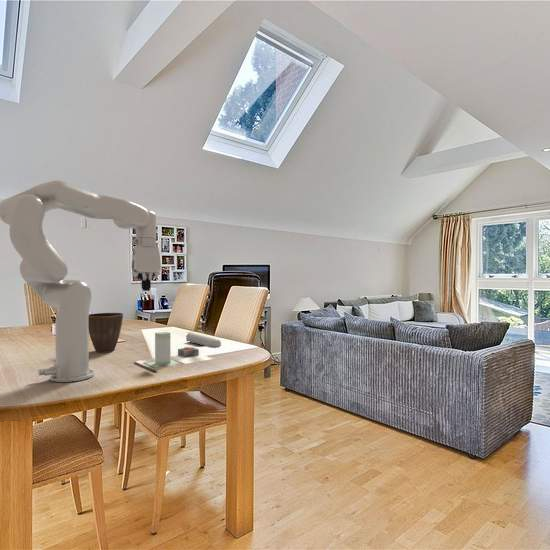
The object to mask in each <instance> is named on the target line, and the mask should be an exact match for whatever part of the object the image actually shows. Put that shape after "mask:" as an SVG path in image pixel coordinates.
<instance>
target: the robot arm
mask: <svg viewBox="0 0 550 550" xmlns="http://www.w3.org/2000/svg"><path fill="white" fill-rule="evenodd" d="M55 209H61V210H64V211H66V212H70V213H73V214H76V215H80V216H83V217H86V218H89V219H96V220H112V221H113V223H114V225H115V226H117V227H118V228H121V229H124V230H127V229H129V230H130V229H134V230H135V238H134V239H132V240H131V243H132V244H134V245H135V246H133V250H132V256H131V270H132V271H131V275H132V276H135V277H138V278H139V280H141V289H142V291H143V292H145V291H150V290H151V289H152V288H151V287H152V286H151V284H152V283H151V281H152V280H153V278H155V277H157V276H160V275H161V273H160V271H161V270H162V265H161V264H162V263H161V253H160V249H159V246H157V215H156V213H155V212H154V211H151V210H147V209H146V208H145V207H143V205H142V206H141V205H140V204H137V203H134V202H132V201H129V200H125V199H122V198H118V197H113V196H107V195H104V194H100V193H99V194H98V193H96V192H93V191H90V190H88V189H86V188H82V187H80V186H76V185H74V184H71V183H68V182H65V181H62V180H51V181H47V182H44V183H40V184H38V185H35V186H33V187H31V188H28V189H26V190H25V191H22V192H20V193H17V194H15V195H12V196H10V197H8V198H6V199H5V198H4V200H2V201H1V202H0V220H1V221H2V222H3V223H4V224H6V225H9V239H10V242H11V244H12V246H13V248H14V249H15V251H16V252H17V253H18V254H19V256H20V257H21V258H22V260H21V261H20V264H19V272H20V276H21V278H22V279H23V281H24V282H25V283H26V284H27V285H28V286H29V288H30V289H31V290H32V291H33V292H34V293H35V294H36V295H37V296H38V297H39V299H41V301H42V302H43V303H45V304H46V305H47V306H49V307H51V308H54V309H58V310H57V312H56V315H55V316H56V317H55V323H54V328H55V336H54V337H55V363H53V364H52V366H50V367H48V368H41V369H37V370H38V372H37V374H38V376H49V380H50V381H51V382H54V381H55V383H72V381H73V382H79V381H83V380H86V379H90V378H92V377H93V376H94V374H95V371H94V370H92V369H90V364H89V362H90V357H89V355H90V354H89V353H90V349H89V344H90V341H89V340H90V339H89V338H90V334H89V328H88V320H89V314H90V308H91V303H92V290H91V288H90V287H89V285H88V284H87V283H85V282H84V281H81V280H79V279H66V277H67V275H68V271H69V269H68V266H67V263H66V262H65V260H64V259H63V258H62V257H61V255H60V254H59V253H58V252H57V251H56V249H55V248H54V247H53V245H52V244H51V243H50V242H49V240H48V239H47V237H46V235H45V234H44V231H43V221H44V218H45V215H46V213H47V212H49V211H51V210H55Z"/></svg>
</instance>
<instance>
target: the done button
mask: <svg viewBox="0 0 550 550" xmlns="http://www.w3.org/2000/svg"><path fill="white" fill-rule="evenodd" d="M192 347H193V346H185V347H183V348H184V350H192Z"/></svg>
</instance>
